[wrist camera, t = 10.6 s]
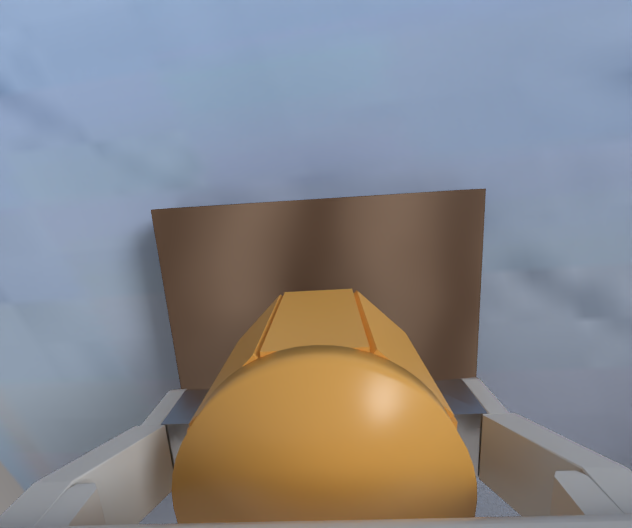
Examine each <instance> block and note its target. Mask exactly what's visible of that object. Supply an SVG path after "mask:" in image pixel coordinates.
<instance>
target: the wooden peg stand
mask: <svg viewBox="0 0 632 528" xmlns="http://www.w3.org/2000/svg"><path fill="white" fill-rule="evenodd" d="M485 192H486V189H470V190H453V191H437V192H421V193H405V194H390V195H374V196H358V197H342V198H326V199H310V200H294V201H278V202H263V203H247V204H231V205H215V206H199V207H183V208H168V209H155V210H151V214H152V220H153V226H154V232H155V238H156V243H157V249H158V255H159V261H160V267H161V273H162V279H163V285H164V291H165V296H166V302H167V308H168V314H169V320H170V326H171V332H172V338H173V344H174V349H175V355H176V361H177V367H178V373H179V379H180V385H181V389H207V388H211V386H212V384H213V383H214V381H215V379H216V378H217V376H218V374H219V373H220V371H221V369H222V368H223V366H224V364H225V362H226V361H227V359H228V357H229V356H230V354H231V352H232V351H233V349H234V347H235V346H236V344H237V342H238V341H239V339H240V338H241V337H242V336H243V335H244V334H245V333H246V332H247V331H248V329H249V328H250V327H251V326H252V325H253V324H254V323H255V322H256V321H257V320H258V318H259V317H260V316H261V315H262V314H263V313H264V312H265V311H266V310H267V308H268V307H269V306H270V305H271V304H272V303H273V302H274V301H275V300H276V298H277V297H278V296H279V295H280V294H281V295H282V296H283V295H284V293H285V292H297V291H317V290H336V289H352V290H353V293H355V292H356V291H358V292H359V293H361V294H362V295H363V296H364V297H365V298H366V299H367V300H369V301H370V302H371V303H372V304H373V305H374V306H375V307H377V308H378V309H379V310H380V311H381V312H382V313H383V314H385V315H386V316H387V317H388V318H389V319H390V320H391V321H393V322H394V323H395V324H396V325H397V326H398V327H399V328H401V329H402V330H403V331H404V332H405V333H406V335H407V336H408V338H409V340H410V341H411V343H412V345H413V346H414V348H415V350H416V351H417V353H418V355H419V356H420V358H421V360H422V361H423V363H424V365H425V366H426V368H427V370H428V372H429V373H430V375H431V377H432V378H433V380H448V379H460V378H473V377H476V371H477V351H478V331H479V311H480V291H481V271H482V252H483V232H484V212H485Z"/></svg>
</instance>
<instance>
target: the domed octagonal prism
mask: <svg viewBox="0 0 632 528" xmlns="http://www.w3.org/2000/svg"><path fill="white" fill-rule="evenodd" d="M188 425H190V426H189V428H188V429H187V434H186V436H185V438H184V439H183V441H182V443H181V446H180V448H179V451H178V454H177V456H176V459H175V464H174V469H173V474H172V499H173V507H174V511H175V515H176V518H177V522H178V524H179V523H224V522H271V521H324V520H375V519H422V518H468V517H475V512H476V504H477V482H476V476H475V471H474V466H473V463H472V460H471V458H470V455H469V452H468V449H467V448H466V446H465V444H464V442H463V440H462V438H461V437H460V435H459V433H458V431H457V420H456V418H455V417H454V414H453V412H452V410H451V409H450V407H449V405H448V403H447V402H446V400H445V398H444V397H443V395H442V393H441V392H440V390H439V388H438V387H437V385H436V383H435V382H434V380H433V378H432V377H431V375H430V373H429V372H428V370H427V368H426V366H425V365H424V363H423V361H422V360H421V358H420V356H419V355H418V353H417V351H416V350H415V348H414V346H413V345H412V343H411V341H410V340H409V338H408V336H407V335H406V333H405V332H404V331H403V330H402V329H401V328H399V327H398V326H397V325H396V324H395V323H394V322H393V321H391V320H390V319H389V318H388V317H387V316H386V315H385V314H383V313H382V312H381V311H380V310H379V309H378V308H377V307H375V306H374V305H373V304H372V303H371V302H370V301H369V300H367V299H366V298H365V297H364V296H363V295H362V294H361V293H359V292H358V291H356V292H355V293H353V290H352V289H336V290H317V291H297V292H285V293H284V295H283V296H282V295H281V294H280V295H279V296H278V297H277V298H276V300H275V301H274V302H273V303H272V304H271V305H270V306H269V307H268V308H267V310H266V311H265V312H264V313H263V314H262V315H261V316H260V317H259V318H258V320H257V321H256V322H255V323H254V324H253V325H252V326H251V327H250V328H249V329H248V331H247V332H246V333H245V334H244V335H243V336H242V337H241V338H240V339H239V341H238V342H237V344H236V346H235V347H234V349H233V351H232V352H231V354H230V356H229V357H228V359H227V361H226V362H225V364H224V366H223V368H222V369H221V371H220V373H219V374H218V376H217V378H216V379H215V381H214V383H213V384H212V386H211V388H210V389H209V391H208V393H207V394H206V396H205V398H204V399H203V401H202V403H201V404H200V406H199V408H198V409H197V411H196V413H195V414H194V416H193V418H192V419H191V421H190V423H189V424H188Z"/></svg>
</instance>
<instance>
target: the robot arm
mask: <svg viewBox="0 0 632 528" xmlns="http://www.w3.org/2000/svg"><path fill="white" fill-rule="evenodd" d="M434 382H435V383H436V385H437V387H438V388H439V390H440V392H441V393H442V395H443V397H444V398H445V400H446V402H447V403H448V405H449V407H450V409H451V410H452V412H453V414H454V417H455V418H456V420H457V431H458V433H459V435H460V437H461V438H462V440H463V442H464V444H465V446H466V448H467V449H468V452H469V455H470V458H471V460H472V463H473V466H474V471H475V476H476V477H479V479H480V480H481V481H482V482H484V483H485V484H486V485H487V486H488V487H489V488H490V489H491V490H493V491H494V492H495V493H496V494H497V495H498V496H499V497H501V498H502V499H503V500H504V501H505V502H506V503H507V504H509V505H510V506H511V507H512V508H513V509H514V510H515V511H517V512H518V513H519V514H520V515H521V516H515V517H468V518H422V519H375V520H324V521H271V522H224V523H179V524H138V523H139V522H140V521H141V520H142V519H143V518H144V517H145V516H147V515H148V514H149V513H150V512H151V511H152V510H153V509H154V508H155V507H156V506H157V505H158V504H159V503H160V502H161V501H162V500H163V499H164V498H165V497H166V496H167V495H168V494H169V493H170V492H171V491H172V474H173V469H174V464H175V459H176V456H177V454H178V451H179V448H180V446H181V443H182V441H183V439H184V438H185V436H186V434H187V429H188V428H189V426H190V425H188V424H189V423H190V421H191V419H192V418H193V416H194V414H195V413H196V411H197V409H198V408H199V406H200V404H201V403H202V401H203V399H204V398H205V396H206V394H207V393H208V391H209V389H210V388H207V389H173V390H170V391H168V393H167V394H166V395H165V396H164V397H163V399H162V400H161V401H160V402H159V404H158V405H157V406H156V407H155V409H154V410H153V411H152V412H151V413H150V415H149V416H148V417H147V418H146V420H145V421H144V422H143V423H142V424H141V426H134V427H132V428H131V429H129V430H127V431H125V432H123V433H122V434H120V435H118V436H116V437H115V438H113V439H111V440H109V441H108V442H106V443H104V444H102V445H100V446H99V447H97V448H95V449H93V450H92V451H90V452H88V453H86V454H84V455H83V456H81V457H79V458H77V459H76V460H74V461H72V462H70V463H68V464H67V465H65V466H63V467H61V468H60V469H58V470H56V471H54V472H52V473H51V474H49V475H47V476H45V477H44V478H42V479H40V480H38V481H36V482H35V483H33V484H32V485H31V486H30V487H29V488H28V489H27V490H26V491H25V492H24V493H23V494H22V495H21V496H20V497H19V498H18V499H17V500H16V501H15V502H14V503H13V504H12V505H11V506H10V507H9V508H8V509H7V510H6V511H5V512H4V513H3V514H2V515H1V516H0V528H632V471H631V470H630V469H629V468H627V467H625V466H623V465H621V464H619V463H617V462H615V461H613V460H611V459H609V458H607V457H605V456H603V455H600V454H598V453H596V452H594V451H592V450H590V449H588V448H586V447H584V446H582V445H580V444H578V443H576V442H574V441H572V440H570V439H568V438H566V437H564V436H561V435H559V434H557V433H555V432H553V431H551V430H549V429H547V428H545V427H543V426H541V425H539V424H537V423H535V422H533V421H531V420H529V419H527V418H525V417H522V416H520V415H518V414H516V413H509V412H508V411H507V410H506V408H505V407H504V406H503V405H502V404H501V403H500V402H499V400H498V399H497V398H496V397H495V396H494V395H493V393H492V392H491V391H490V390H489V389H488V388H487V387H486V385H485V384H484V383H483V382H482V381H481V380H480V379H479V378H477V377H473V378H460V379H448V380H434Z"/></svg>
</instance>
